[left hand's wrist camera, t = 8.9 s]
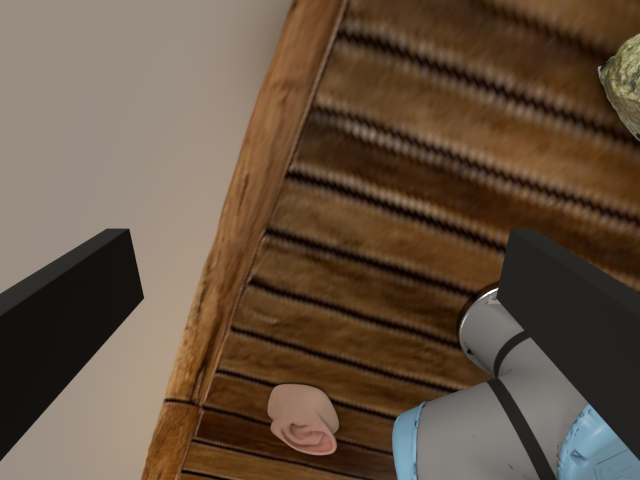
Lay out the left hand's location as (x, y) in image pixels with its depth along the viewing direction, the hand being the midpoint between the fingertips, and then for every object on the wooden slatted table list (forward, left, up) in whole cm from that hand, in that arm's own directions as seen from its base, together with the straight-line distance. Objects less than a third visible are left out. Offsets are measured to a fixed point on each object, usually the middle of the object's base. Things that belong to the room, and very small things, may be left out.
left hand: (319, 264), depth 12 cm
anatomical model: (-9, +43, -34) cm, 56 cm away
